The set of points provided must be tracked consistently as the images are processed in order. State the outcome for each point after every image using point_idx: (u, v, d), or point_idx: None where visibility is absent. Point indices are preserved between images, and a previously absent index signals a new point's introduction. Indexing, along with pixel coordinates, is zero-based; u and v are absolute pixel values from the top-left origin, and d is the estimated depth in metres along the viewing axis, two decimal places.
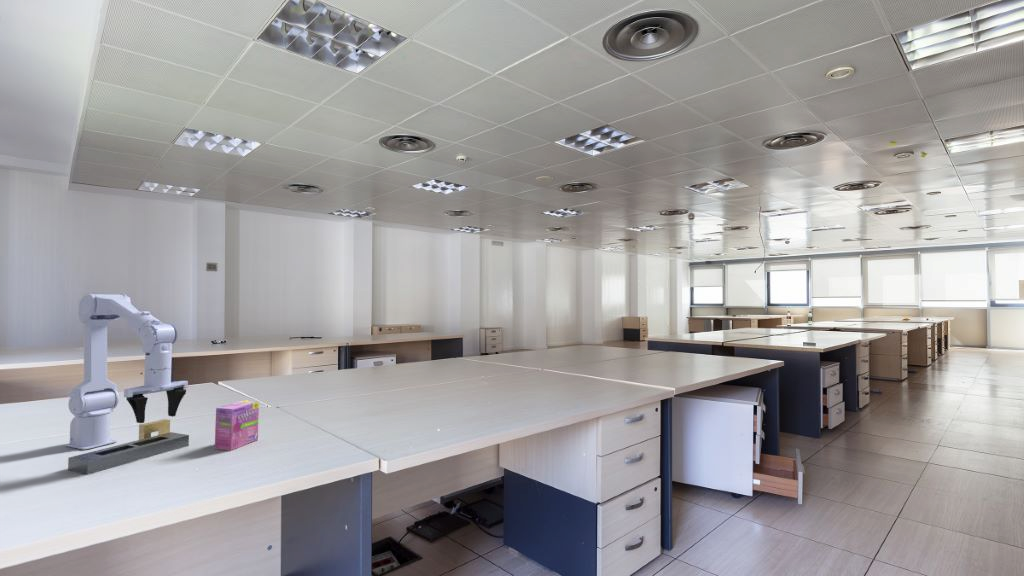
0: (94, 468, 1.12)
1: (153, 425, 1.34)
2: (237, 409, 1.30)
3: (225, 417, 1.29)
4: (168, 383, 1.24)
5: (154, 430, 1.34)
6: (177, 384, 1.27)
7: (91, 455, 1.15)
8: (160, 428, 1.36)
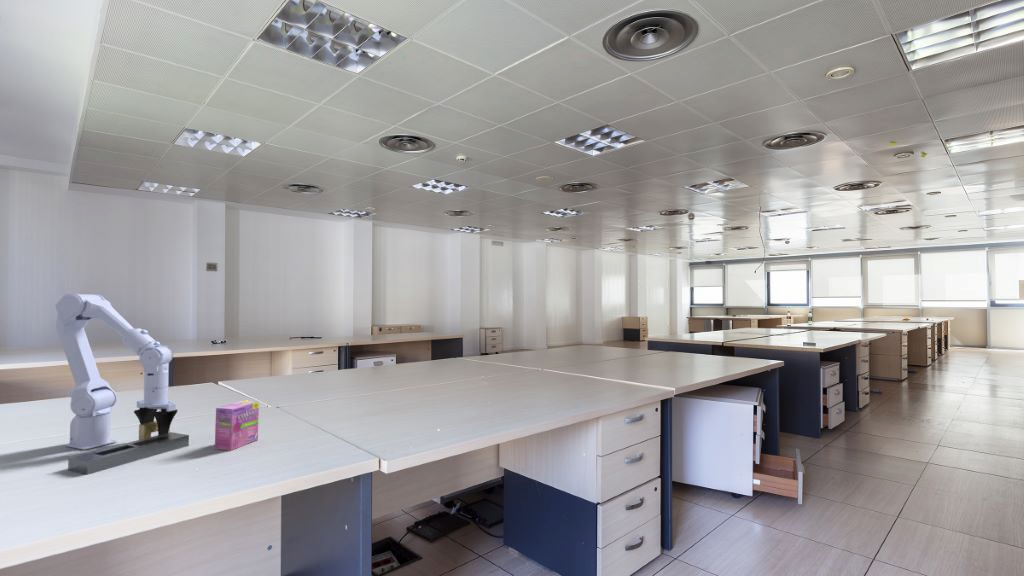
0: (94, 468, 1.12)
1: (153, 425, 1.34)
2: (237, 409, 1.30)
3: (225, 417, 1.29)
4: (149, 403, 1.33)
5: (154, 430, 1.34)
6: (158, 405, 1.32)
7: (91, 455, 1.15)
8: None
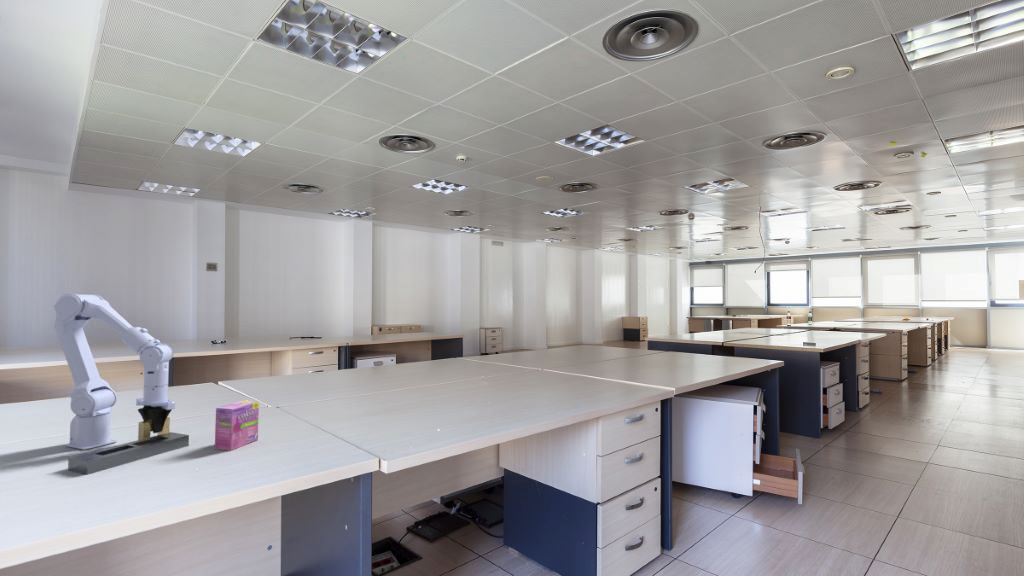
0: (94, 468, 1.12)
1: None
2: (237, 409, 1.30)
3: (225, 417, 1.29)
4: (148, 401, 1.33)
5: None
6: (157, 404, 1.32)
7: (91, 455, 1.15)
8: None
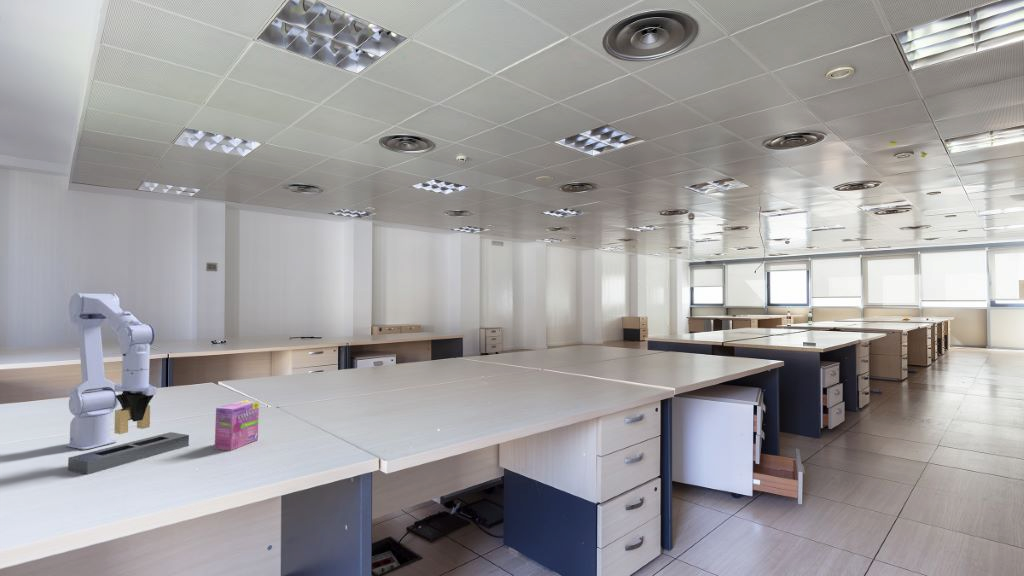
0: (94, 468, 1.12)
1: None
2: (237, 409, 1.30)
3: (225, 417, 1.29)
4: (127, 386, 1.21)
5: None
6: (137, 389, 1.20)
7: (91, 455, 1.15)
8: None
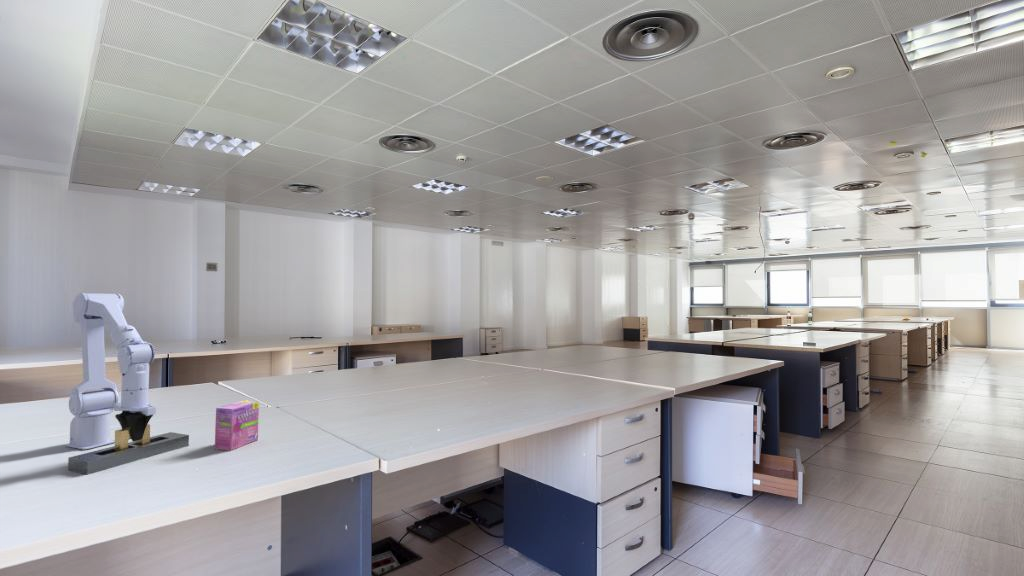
0: (94, 468, 1.12)
1: None
2: (237, 409, 1.30)
3: (225, 417, 1.29)
4: (126, 406, 1.21)
5: None
6: (136, 409, 1.20)
7: (91, 455, 1.15)
8: None
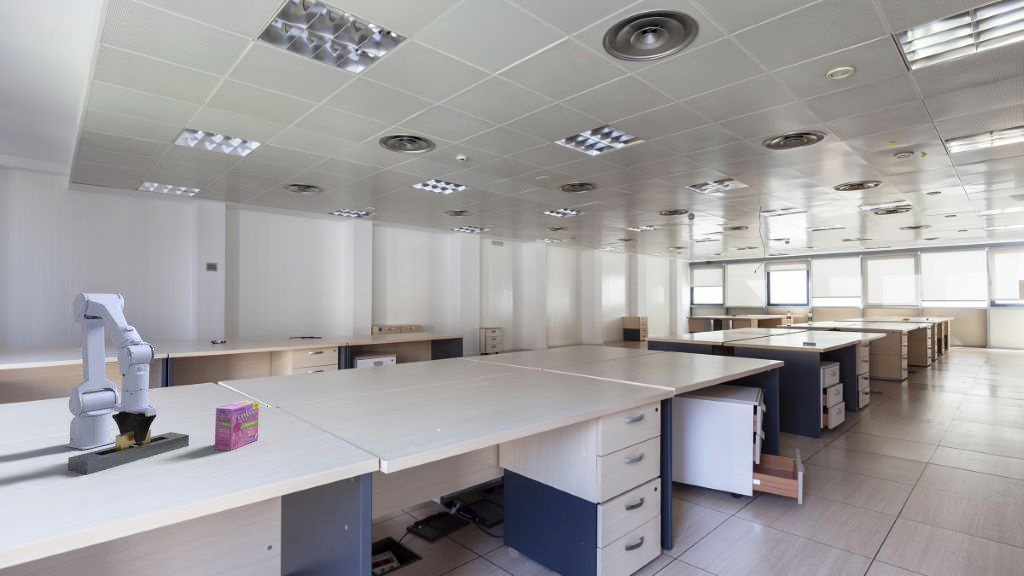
0: (94, 468, 1.12)
1: (131, 436, 1.22)
2: (237, 409, 1.30)
3: (225, 417, 1.29)
4: (126, 406, 1.21)
5: (132, 441, 1.22)
6: (136, 410, 1.20)
7: (91, 455, 1.15)
8: None
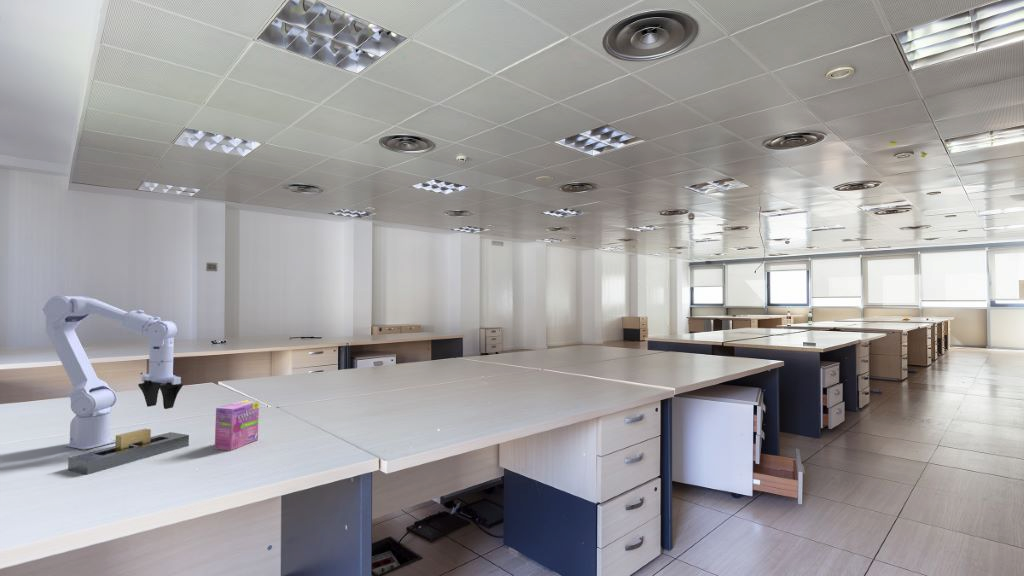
0: (94, 468, 1.12)
1: (131, 436, 1.22)
2: (237, 409, 1.30)
3: (225, 417, 1.29)
4: (154, 376, 1.33)
5: (132, 441, 1.22)
6: (163, 379, 1.33)
7: (91, 455, 1.15)
8: (139, 439, 1.23)
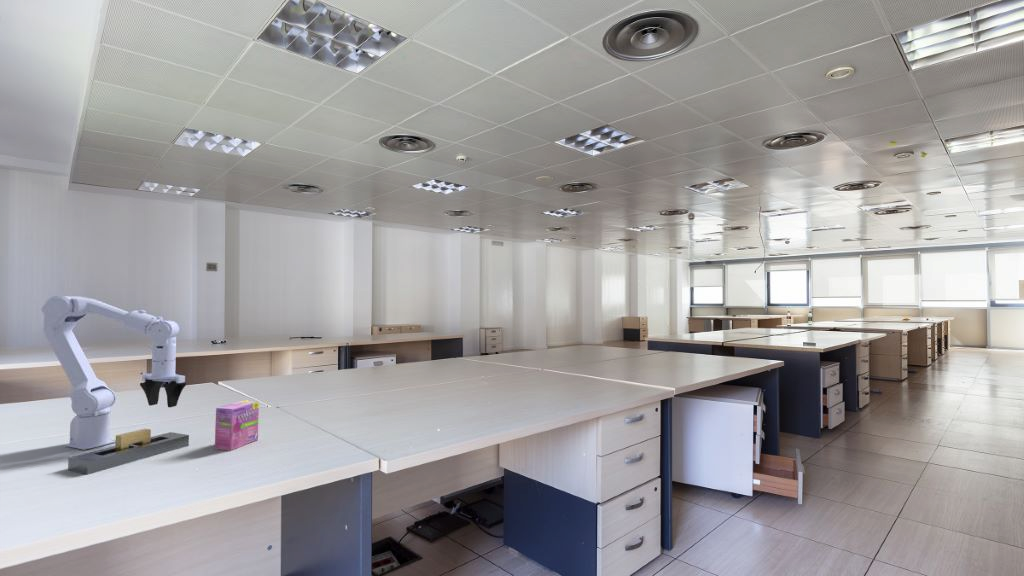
0: (94, 468, 1.12)
1: (131, 436, 1.22)
2: (237, 409, 1.30)
3: (225, 417, 1.29)
4: (158, 375, 1.35)
5: (132, 441, 1.22)
6: (167, 377, 1.35)
7: (91, 455, 1.15)
8: (139, 439, 1.23)
